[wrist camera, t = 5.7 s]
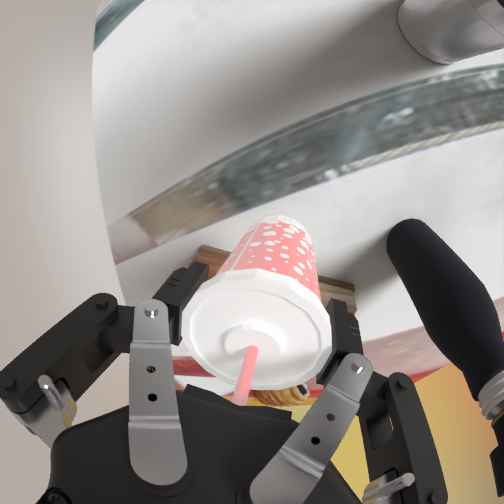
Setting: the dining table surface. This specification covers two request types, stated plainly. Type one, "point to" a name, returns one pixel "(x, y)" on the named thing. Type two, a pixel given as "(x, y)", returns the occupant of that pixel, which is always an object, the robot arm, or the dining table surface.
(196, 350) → the beverage cup
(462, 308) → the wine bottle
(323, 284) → the cup holder
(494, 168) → the dining table surface
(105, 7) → the dining table surface
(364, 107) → the dining table surface
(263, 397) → the pastry
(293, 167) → the dining table surface
